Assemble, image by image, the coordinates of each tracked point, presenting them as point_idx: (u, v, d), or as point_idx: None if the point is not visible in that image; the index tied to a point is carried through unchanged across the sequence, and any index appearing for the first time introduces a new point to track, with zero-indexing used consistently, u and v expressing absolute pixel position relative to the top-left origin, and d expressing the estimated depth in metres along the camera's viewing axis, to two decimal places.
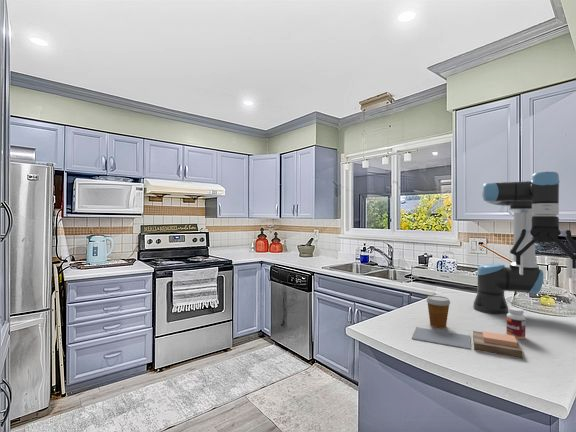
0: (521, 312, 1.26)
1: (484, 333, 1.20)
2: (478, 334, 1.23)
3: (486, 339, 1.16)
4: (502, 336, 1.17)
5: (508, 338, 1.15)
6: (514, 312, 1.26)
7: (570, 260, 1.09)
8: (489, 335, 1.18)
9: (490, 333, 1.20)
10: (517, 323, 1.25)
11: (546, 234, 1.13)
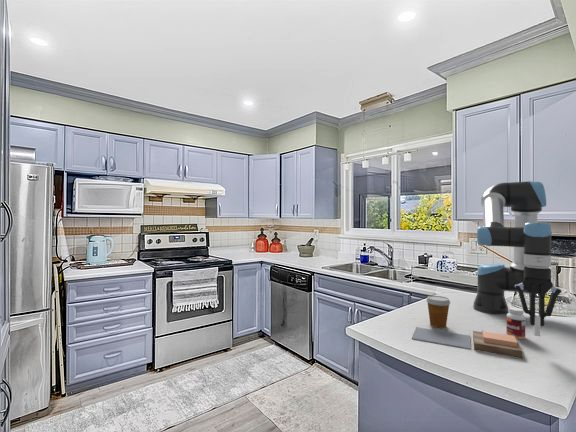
0: (521, 312, 1.26)
1: (484, 333, 1.20)
2: (478, 334, 1.23)
3: (486, 339, 1.16)
4: (502, 336, 1.17)
5: (508, 338, 1.15)
6: (514, 312, 1.26)
7: (538, 318, 1.10)
8: (489, 335, 1.18)
9: (490, 333, 1.20)
10: (517, 323, 1.25)
11: (539, 284, 1.11)
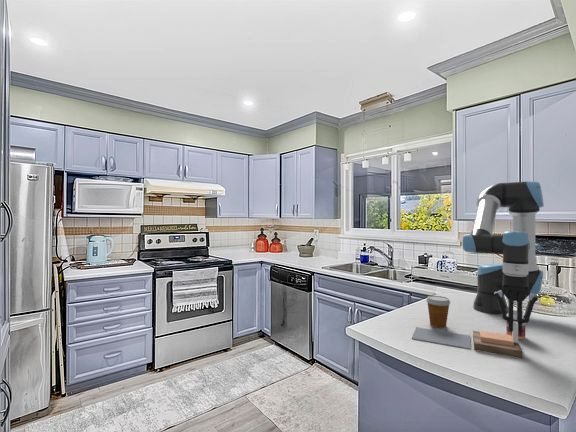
0: None
1: (481, 333, 1.21)
2: (478, 334, 1.23)
3: (483, 339, 1.16)
4: (499, 335, 1.18)
5: (504, 338, 1.15)
6: (514, 312, 1.26)
7: (516, 324, 1.14)
8: (486, 335, 1.18)
9: (487, 332, 1.21)
10: None
11: (517, 291, 1.14)
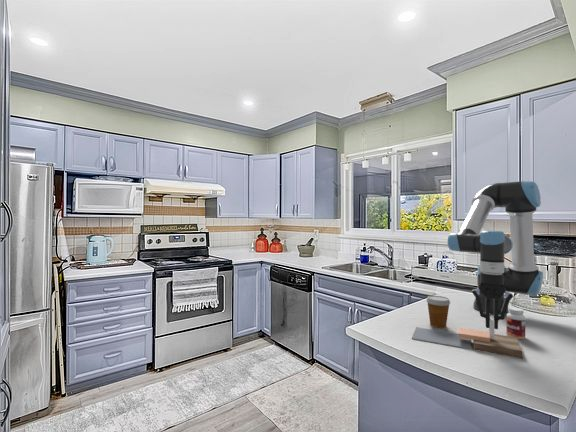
0: (521, 312, 1.26)
1: (460, 329, 1.24)
2: None
3: (461, 335, 1.20)
4: (477, 332, 1.21)
5: (482, 334, 1.19)
6: (514, 312, 1.26)
7: (492, 321, 1.17)
8: (464, 331, 1.22)
9: (466, 329, 1.24)
10: (517, 323, 1.25)
11: (493, 289, 1.17)
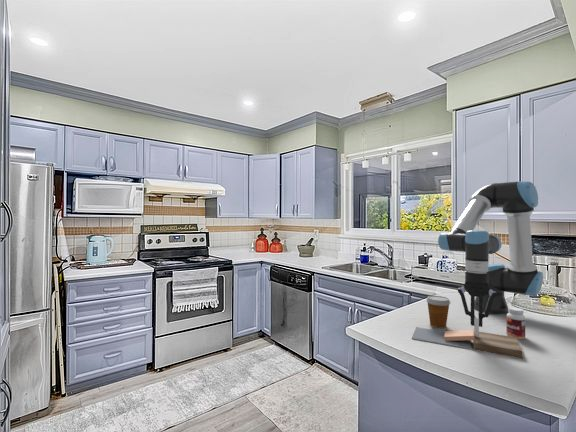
0: (521, 312, 1.26)
1: (446, 332, 1.26)
2: None
3: (447, 338, 1.22)
4: (462, 332, 1.23)
5: (466, 333, 1.21)
6: (514, 312, 1.26)
7: (477, 319, 1.19)
8: (450, 334, 1.24)
9: (451, 331, 1.26)
10: (517, 323, 1.25)
11: (478, 287, 1.19)
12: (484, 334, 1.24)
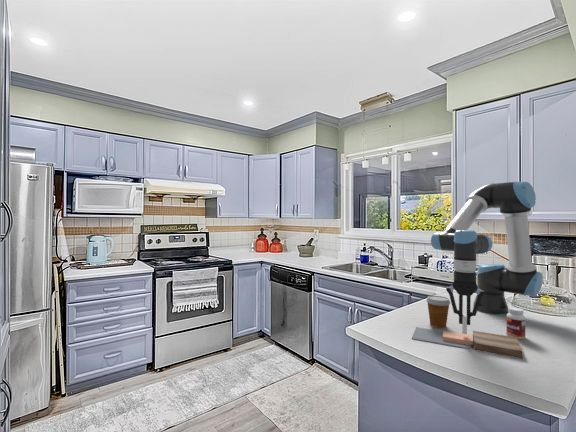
0: (521, 312, 1.26)
1: (444, 332, 1.26)
2: (478, 334, 1.23)
3: (445, 338, 1.22)
4: (460, 335, 1.23)
5: (465, 337, 1.21)
6: (514, 312, 1.26)
7: (465, 317, 1.21)
8: (448, 334, 1.24)
9: (450, 332, 1.26)
10: (517, 323, 1.25)
11: (466, 286, 1.21)
12: (484, 334, 1.24)
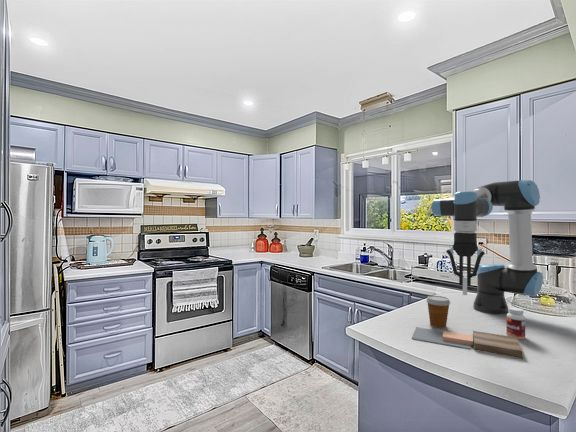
0: (521, 312, 1.26)
1: (444, 332, 1.26)
2: (478, 334, 1.23)
3: (445, 338, 1.22)
4: (460, 335, 1.23)
5: (465, 337, 1.21)
6: (514, 312, 1.26)
7: (465, 278, 1.21)
8: (448, 334, 1.24)
9: (450, 332, 1.26)
10: (517, 323, 1.25)
11: (466, 247, 1.21)
12: (484, 334, 1.24)
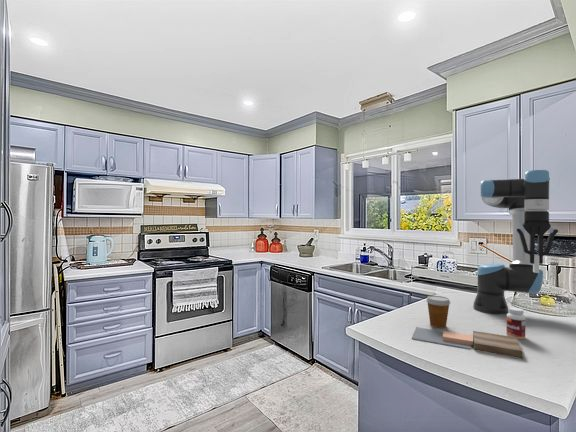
0: (521, 312, 1.26)
1: (444, 332, 1.26)
2: (478, 334, 1.23)
3: (445, 338, 1.22)
4: (460, 335, 1.23)
5: (465, 337, 1.21)
6: (514, 312, 1.26)
7: (537, 256, 1.22)
8: (448, 334, 1.24)
9: (450, 332, 1.26)
10: (517, 323, 1.25)
11: (538, 226, 1.22)
12: (484, 334, 1.24)
